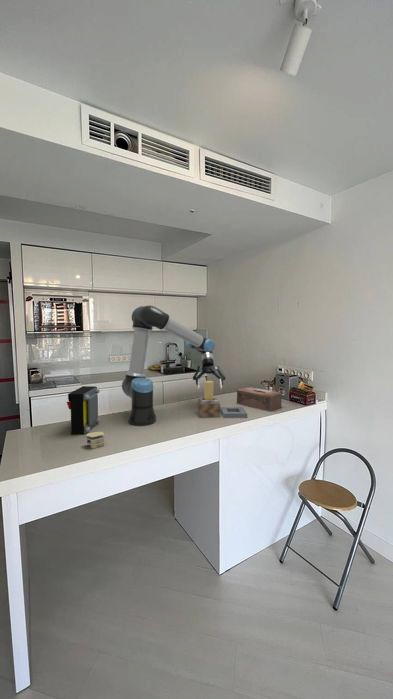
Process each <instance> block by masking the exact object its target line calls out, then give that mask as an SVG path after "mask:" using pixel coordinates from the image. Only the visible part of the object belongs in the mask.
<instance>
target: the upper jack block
mask: <svg viewBox="0 0 393 699" xmlns="http://www.w3.org/2000/svg"><path fill="white" fill-rule="evenodd" d="M220 407H221V403H220V401H219V400H218V398H217V396H213V400H204V396H199V398H198V399H197V413H198V414H197V415H198V418H203V419H204V418H221V414H220V413H221V412H220Z"/></svg>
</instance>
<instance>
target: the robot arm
mask: <svg viewBox="0 0 393 699" xmlns="http://www.w3.org/2000/svg"><path fill="white" fill-rule="evenodd" d="M131 321H132V329H133V330H134V333H133V338H132V339H133V340H132V345H131V346H132V347H131V354H130V362H129V368H128V371H127V372H126V373H125V376H124V377H125V378H124V379H123V381H122V383H121V389H122V392H123V393H124V394H125V395H126V396H127V397H129V398H131V410H130V412H129V415H128V423H129V424H130V425H131V426H138V427H139V426H142V427H143V426H149V425H152V424H154V423H156V422H157V415H156V413H155V412H156V411H155V409H154V382H153V380H152V379H150V378H147V376H146V375H145V373H144V371H145V365H146V364H145V363H146V356H147V350H148V343H149V338H150V337H149V335H150V333H151V332H153V328H156V329H158V330H159V331H160V330H161V331H163V330H164V331H165V332H168V333H170V334H171V335H173V336H175V337H177V338H179V339H181V340H182V341H185V345H186V346H187V347H188V348H189V349H192V350H194V351H196V352H197V353H200V354H201V364H202V366H200V365H198V366H197V369H196V371H195V373H194V375H193V376H192V380H193V381H195V385H196V386H197V390H198V391H199V390H200V379H201V377H202V376H203V375H205V374H208V375H209V374H210V375H211V374H212V375H213V376H215V377H216V379H218V380H219V381H218V382H219V390H220V391H222V390H223V389H222V388H223V385H224V381H225V380H226V376H225V374H224V373H223V371H222V370H221V367H220V365H217V366H215V361H214V354H213V351H214V349H215V346H216V344H215V342H214V340H212V339H211V338H207V337H204V336H203V335H201V334H200V333H198V332H195V331H194V330H192V329H190V328H189V327H187V326H185V325H184V324H181V323H180V322H178V321H176V320H175V319H173V318H171V317H170V315H169V314H168V313H166V312H164V311H163V310H162V309H160V308H158V307H157V306H153V305H144V306H143V305H141V306H139V307H136V308H134V310H133V311H132V313H131ZM201 370H202V371H201ZM200 371H201V372H200Z"/></svg>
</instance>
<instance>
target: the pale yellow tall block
mask: <svg viewBox="0 0 393 699" xmlns="http://www.w3.org/2000/svg"><path fill="white" fill-rule="evenodd" d="M203 384H204V388H203V389H204V392H203V394H204V395H203V397H204V400H213V397H214V386H215V384H214V381H213V380H204V383H203Z"/></svg>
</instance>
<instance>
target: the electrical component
mask: <svg viewBox="0 0 393 699" xmlns="http://www.w3.org/2000/svg"><path fill="white" fill-rule="evenodd" d="M100 391H101V390H100V388H98V386H95V385H94V386H91V385H90V386H81V387H79V388H77V389H75V390H73V391H71V392H70V393H68V394H67V400H68V401H66V405H67V407H68V410H70V431H71V432H70V435H75V436H76V435H78V436H79V435H80V436H81V435H83V436H84V435H86V434H88V433H90V432H91V430H92V428H94V427H95V426H96V424H98V423H99V424H100V422H101V418H100V417H99V410H98V407H99V406H98V405H99V404H98V403H99V402H98V394H99V393H100ZM98 417H99V418H98Z"/></svg>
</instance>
